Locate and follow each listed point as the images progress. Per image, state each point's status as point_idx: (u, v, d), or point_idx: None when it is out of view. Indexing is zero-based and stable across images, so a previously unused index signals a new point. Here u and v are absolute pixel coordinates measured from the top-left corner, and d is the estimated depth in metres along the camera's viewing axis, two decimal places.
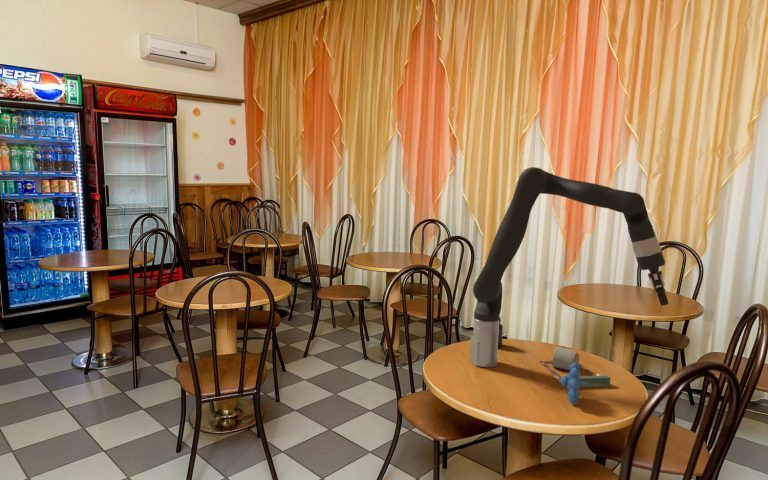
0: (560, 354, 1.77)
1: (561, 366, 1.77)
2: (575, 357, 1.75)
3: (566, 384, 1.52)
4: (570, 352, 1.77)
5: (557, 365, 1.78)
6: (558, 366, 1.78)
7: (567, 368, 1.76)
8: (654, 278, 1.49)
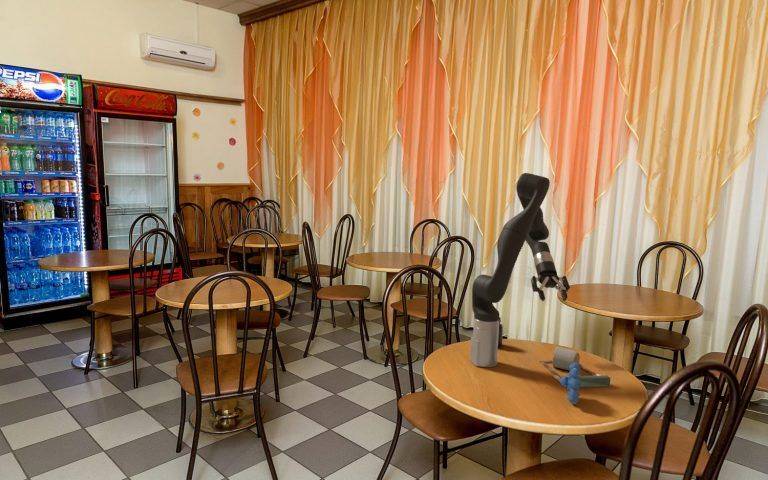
0: (560, 354, 1.77)
1: (561, 366, 1.77)
2: (575, 357, 1.75)
3: (566, 384, 1.52)
4: (570, 352, 1.77)
5: (557, 365, 1.78)
6: (559, 365, 1.78)
7: (567, 368, 1.77)
8: None
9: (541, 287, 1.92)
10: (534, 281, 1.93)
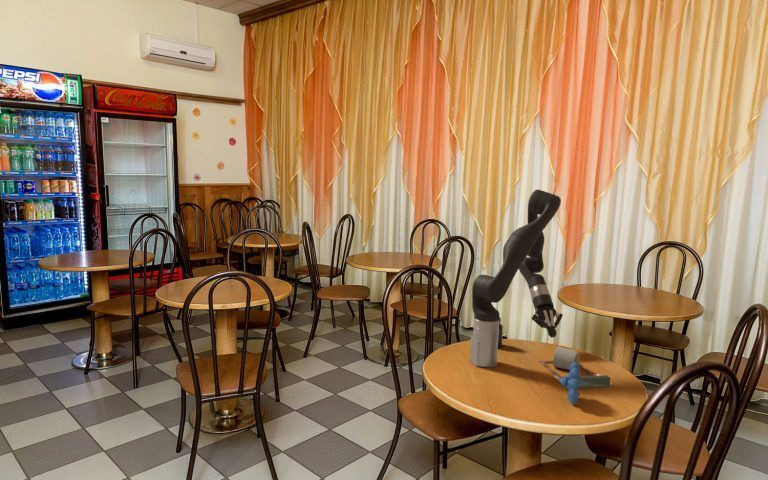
0: (561, 354, 1.78)
1: (562, 366, 1.78)
2: (576, 357, 1.75)
3: (566, 384, 1.52)
4: (571, 352, 1.77)
5: (558, 365, 1.78)
6: (559, 365, 1.78)
7: (568, 368, 1.77)
8: (561, 317, 1.96)
9: (548, 323, 1.93)
10: (538, 319, 1.93)
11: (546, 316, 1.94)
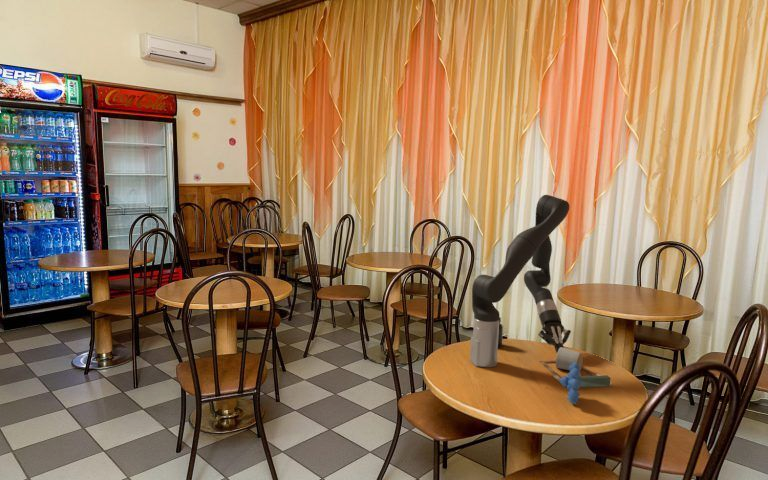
0: (564, 355, 1.76)
1: (565, 367, 1.76)
2: (579, 358, 1.74)
3: (566, 384, 1.52)
4: (574, 353, 1.76)
5: (561, 366, 1.77)
6: (562, 366, 1.77)
7: None
8: None
9: (556, 340, 1.86)
10: (546, 335, 1.87)
11: (554, 332, 1.87)
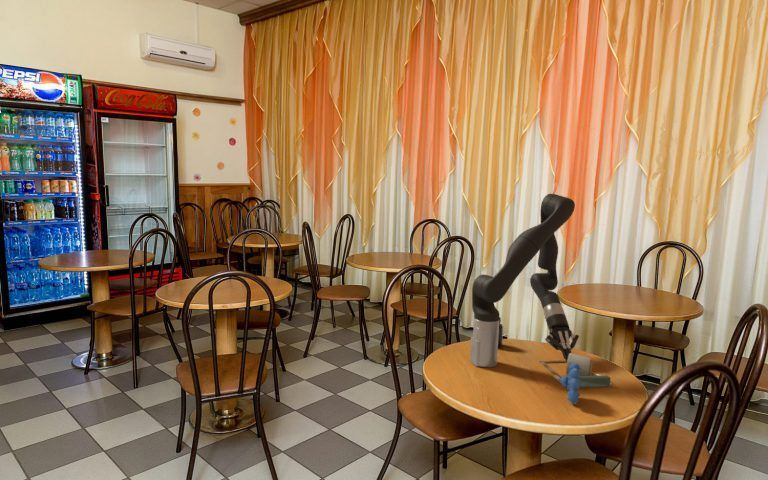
0: (575, 361, 1.70)
1: None
2: (590, 364, 1.69)
3: (566, 384, 1.52)
4: (585, 359, 1.70)
5: None
6: None
7: None
8: None
9: (563, 345, 1.80)
10: (553, 340, 1.81)
11: (561, 337, 1.81)
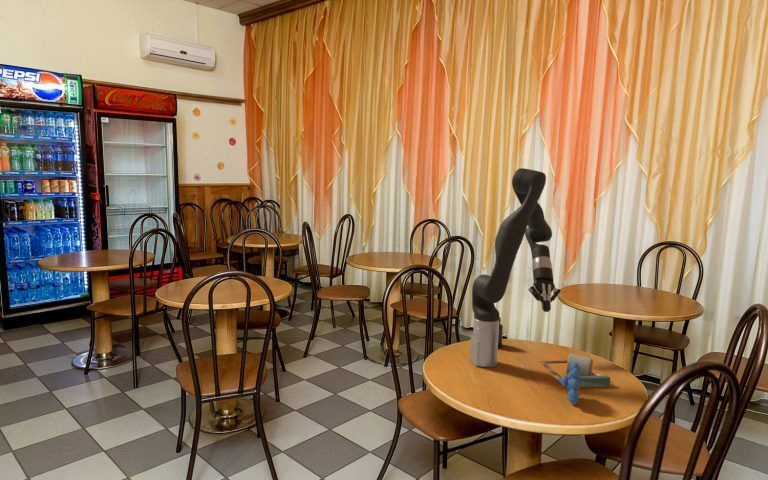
0: (575, 361, 1.70)
1: None
2: (591, 364, 1.69)
3: (566, 384, 1.52)
4: (585, 359, 1.70)
5: None
6: None
7: None
8: (558, 293, 1.92)
9: (544, 297, 1.90)
10: (535, 291, 1.90)
11: (544, 290, 1.90)
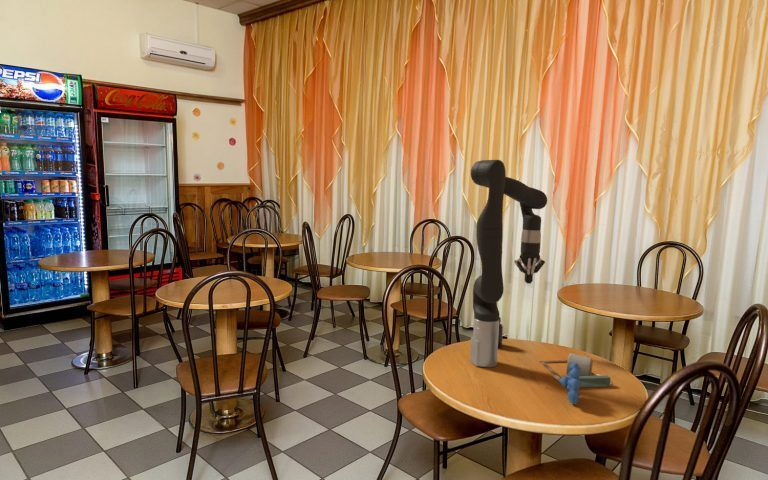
0: (575, 361, 1.70)
1: None
2: (591, 364, 1.69)
3: (566, 384, 1.52)
4: (585, 359, 1.70)
5: None
6: None
7: (582, 375, 1.70)
8: None
9: (528, 271, 1.97)
10: (520, 266, 1.96)
11: (529, 264, 1.96)
